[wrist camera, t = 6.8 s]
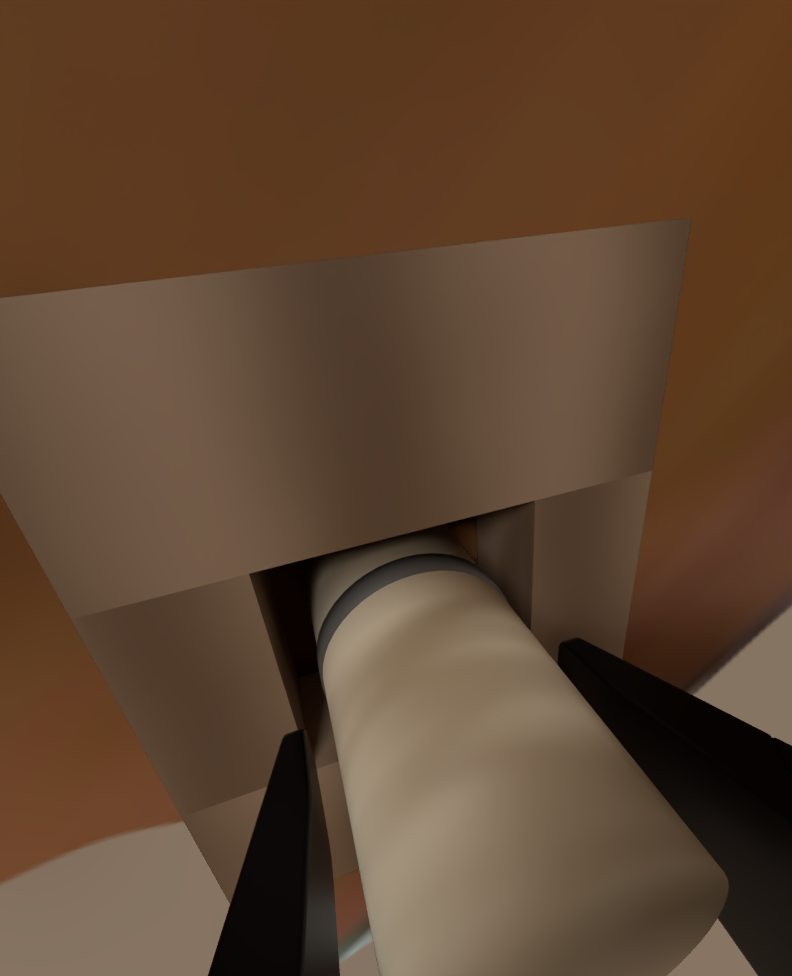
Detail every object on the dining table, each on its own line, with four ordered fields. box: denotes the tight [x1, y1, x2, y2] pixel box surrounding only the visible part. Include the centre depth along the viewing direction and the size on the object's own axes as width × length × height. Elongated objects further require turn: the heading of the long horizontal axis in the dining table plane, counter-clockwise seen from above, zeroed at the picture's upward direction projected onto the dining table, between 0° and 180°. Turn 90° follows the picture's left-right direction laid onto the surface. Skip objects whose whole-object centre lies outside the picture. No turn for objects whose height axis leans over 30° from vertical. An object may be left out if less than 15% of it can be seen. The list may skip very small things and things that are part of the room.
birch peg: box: [305, 524, 729, 976], centre depth 9 cm, size 4×4×9 cm
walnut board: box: [0, 218, 692, 903], centre depth 12 cm, size 12×16×3 cm
